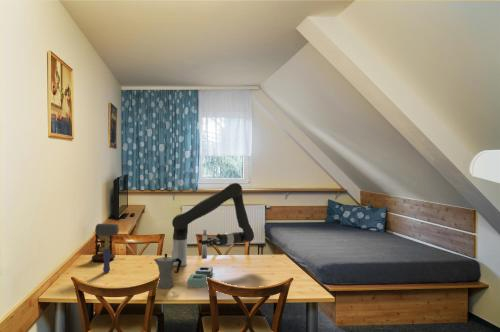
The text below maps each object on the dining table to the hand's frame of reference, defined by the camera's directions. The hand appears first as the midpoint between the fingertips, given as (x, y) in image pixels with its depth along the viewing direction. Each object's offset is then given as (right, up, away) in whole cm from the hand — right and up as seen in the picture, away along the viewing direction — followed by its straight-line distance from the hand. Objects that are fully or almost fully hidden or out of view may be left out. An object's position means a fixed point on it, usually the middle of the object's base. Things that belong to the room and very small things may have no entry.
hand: (200, 242), depth 217 cm
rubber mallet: (-58, -19, +4) cm, 61 cm away
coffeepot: (-16, -21, -17) cm, 31 cm away
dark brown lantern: (-70, -19, +30) cm, 79 cm away
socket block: (+2, -21, +2) cm, 21 cm away
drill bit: (+2, -10, +2) cm, 10 cm away
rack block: (0, -21, -13) cm, 25 cm away
